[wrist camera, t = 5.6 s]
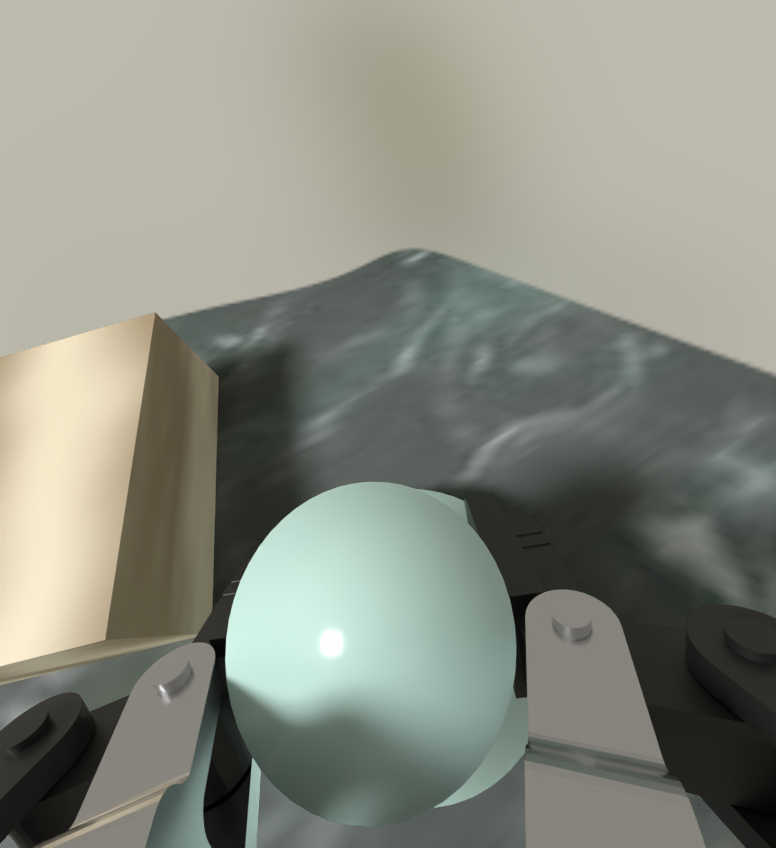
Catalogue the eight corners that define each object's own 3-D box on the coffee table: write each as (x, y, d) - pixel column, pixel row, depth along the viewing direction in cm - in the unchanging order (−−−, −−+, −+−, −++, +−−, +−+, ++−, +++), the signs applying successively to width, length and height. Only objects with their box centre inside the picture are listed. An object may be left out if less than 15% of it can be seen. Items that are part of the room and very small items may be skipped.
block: (222, 380, 20) (155, 312, 15) (216, 632, 14) (104, 640, 9) (16, 437, 20) (-106, 388, 16) (-74, 704, 14) (-309, 743, 10)
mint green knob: (502, 489, 14) (547, 362, 7) (578, 763, 10) (845, 1079, 3) (303, 521, 15) (166, 434, 8) (303, 788, 11) (28, 1092, 4)
